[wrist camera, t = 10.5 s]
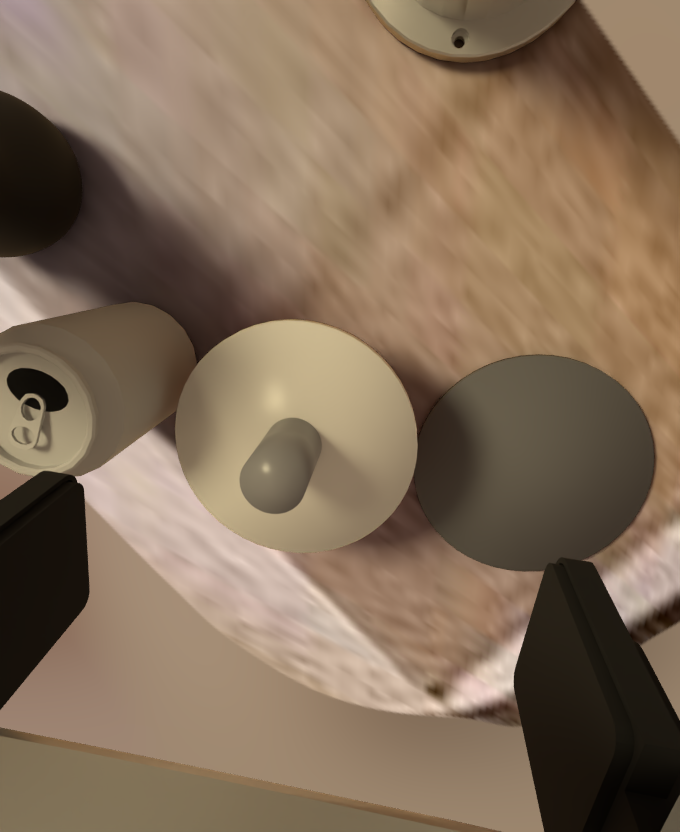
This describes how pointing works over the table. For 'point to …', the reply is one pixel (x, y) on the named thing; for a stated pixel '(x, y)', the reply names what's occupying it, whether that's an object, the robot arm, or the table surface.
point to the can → (88, 385)
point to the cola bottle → (34, 180)
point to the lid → (296, 436)
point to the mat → (533, 462)
